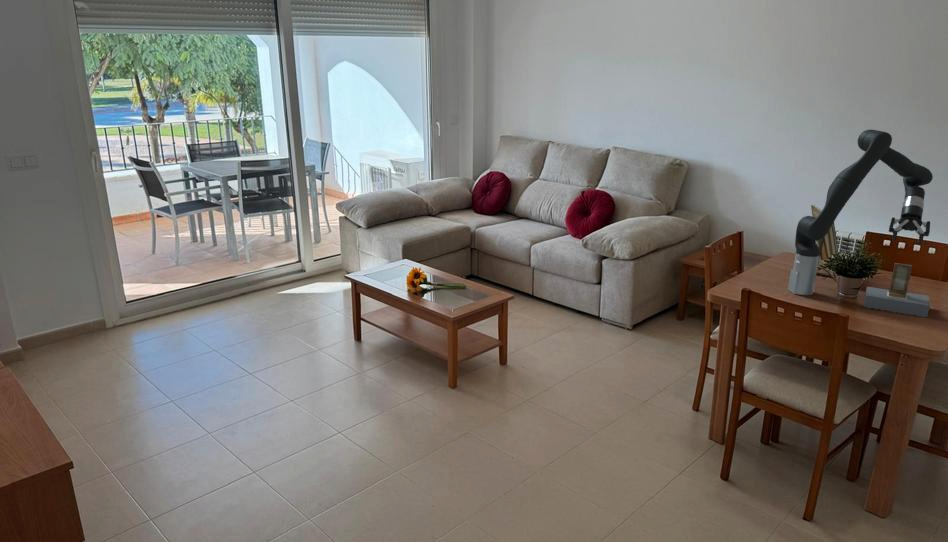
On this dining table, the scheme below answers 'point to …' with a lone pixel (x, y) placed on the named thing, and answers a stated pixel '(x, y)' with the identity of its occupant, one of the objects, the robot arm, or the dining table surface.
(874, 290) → the display step
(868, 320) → the dining table surface
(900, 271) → the walnut frame
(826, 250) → the picture frame
